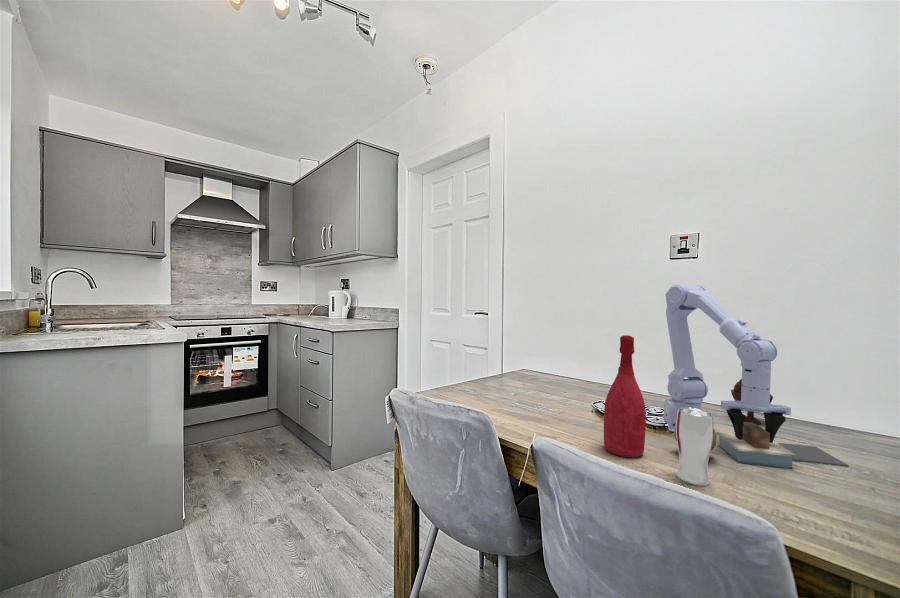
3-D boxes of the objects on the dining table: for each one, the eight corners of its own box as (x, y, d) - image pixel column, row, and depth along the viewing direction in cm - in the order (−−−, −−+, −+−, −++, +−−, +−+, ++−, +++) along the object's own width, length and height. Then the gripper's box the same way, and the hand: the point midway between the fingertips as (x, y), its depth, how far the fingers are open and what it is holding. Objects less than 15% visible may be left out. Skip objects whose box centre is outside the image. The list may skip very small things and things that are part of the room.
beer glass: (667, 472, 88) (669, 406, 88) (696, 471, 88) (698, 406, 88) (688, 487, 81) (691, 416, 81) (719, 487, 81) (722, 416, 81)
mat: (780, 459, 97) (780, 457, 97) (755, 441, 108) (755, 440, 108) (848, 466, 93) (848, 465, 93) (815, 448, 105) (815, 446, 105)
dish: (738, 462, 94) (739, 450, 94) (719, 445, 105) (719, 434, 105) (791, 468, 92) (792, 455, 91) (766, 450, 102) (766, 439, 102)
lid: (737, 450, 94) (738, 432, 94) (716, 433, 105) (717, 417, 105) (796, 457, 91) (796, 438, 91) (767, 438, 102) (768, 422, 102)
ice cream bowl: (780, 428, 120) (781, 380, 120) (739, 425, 123) (741, 378, 123) (760, 418, 131) (761, 374, 131) (723, 415, 133) (724, 372, 133)
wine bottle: (627, 462, 93) (631, 338, 92) (594, 447, 101) (598, 333, 101) (653, 455, 97) (657, 337, 97) (620, 441, 106) (623, 333, 106)
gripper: (730, 388, 96) (728, 442, 96) (799, 393, 92) (797, 449, 92) (718, 382, 103) (716, 432, 103) (782, 386, 99) (780, 438, 99)
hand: (753, 439), depth 98 cm, fingers open, 6 cm apart
